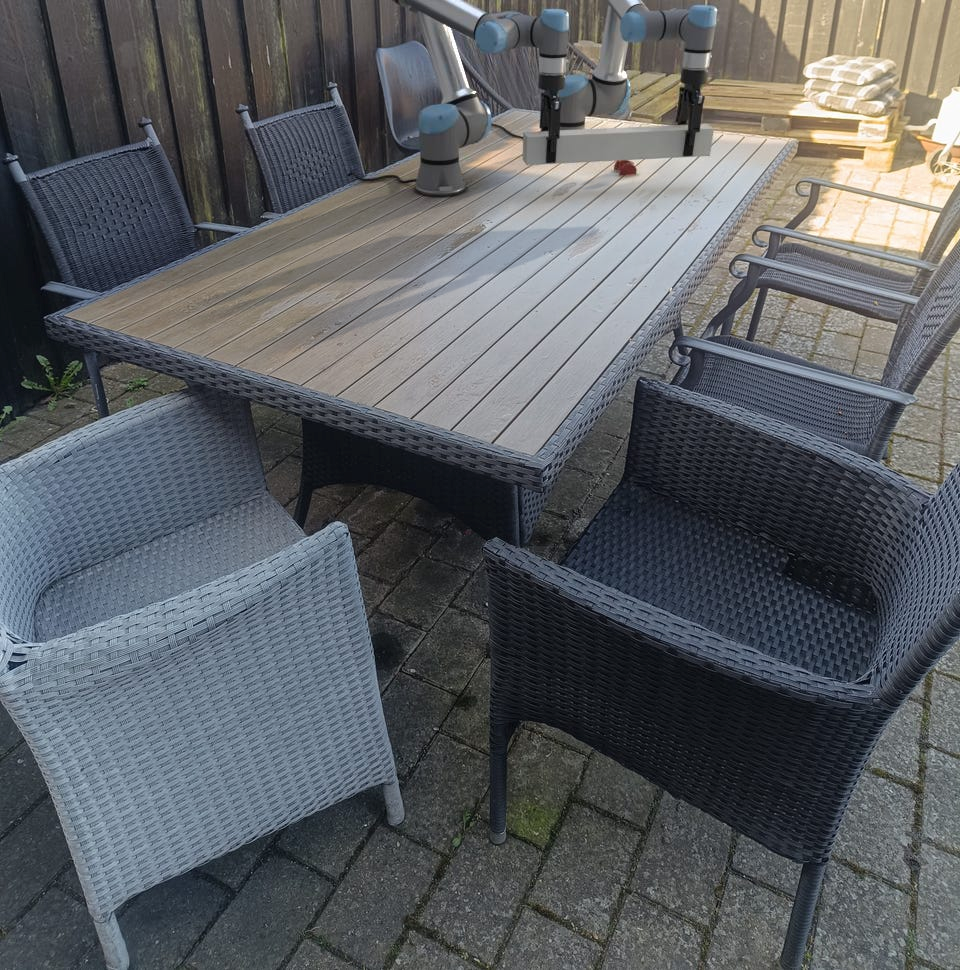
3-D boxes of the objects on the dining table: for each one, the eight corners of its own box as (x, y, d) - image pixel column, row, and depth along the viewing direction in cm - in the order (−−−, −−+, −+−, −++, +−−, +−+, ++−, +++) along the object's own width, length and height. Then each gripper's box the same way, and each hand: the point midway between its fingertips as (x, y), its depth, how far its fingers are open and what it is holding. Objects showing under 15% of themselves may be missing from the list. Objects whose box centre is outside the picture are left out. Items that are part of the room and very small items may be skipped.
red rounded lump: (629, 155, 274) (638, 161, 268) (628, 168, 277) (637, 175, 271) (612, 157, 273) (622, 163, 267) (612, 170, 276) (621, 177, 270)
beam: (526, 165, 244) (527, 137, 240) (522, 159, 249) (523, 132, 245) (710, 156, 251) (714, 128, 247) (702, 150, 256) (706, 123, 252)
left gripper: (574, 79, 227) (569, 167, 240) (556, 66, 242) (551, 150, 255) (547, 80, 226) (543, 169, 239) (531, 67, 241) (527, 151, 254)
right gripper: (721, 74, 232) (707, 160, 246) (695, 61, 247) (684, 144, 261) (695, 74, 231) (683, 162, 244) (671, 62, 246) (660, 145, 260)
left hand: (547, 159), depth 247 cm, fingers closed on beam, 6 cm apart
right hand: (683, 152), depth 253 cm, fingers closed on beam, 6 cm apart
